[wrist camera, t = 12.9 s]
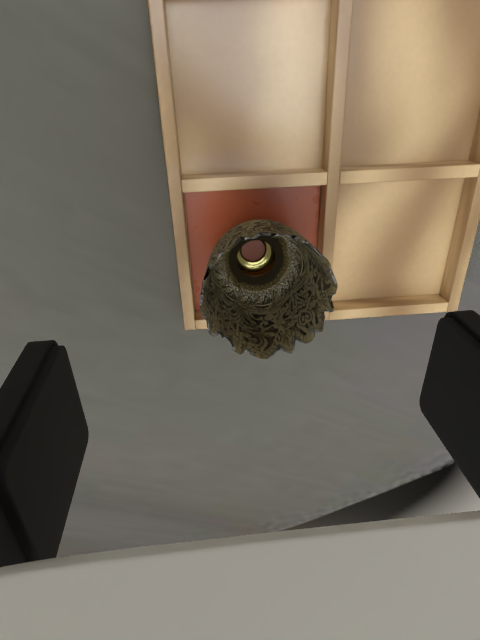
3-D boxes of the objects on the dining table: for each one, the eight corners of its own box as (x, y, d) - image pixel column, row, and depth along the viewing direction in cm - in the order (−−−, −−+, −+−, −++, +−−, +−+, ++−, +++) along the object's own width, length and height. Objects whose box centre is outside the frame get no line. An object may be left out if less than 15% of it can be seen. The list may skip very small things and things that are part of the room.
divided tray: (185, 316, 33) (184, 330, 31) (148, -18, 23) (144, -26, 21) (443, 298, 34) (457, 311, 32) (516, -27, 24) (542, -36, 22)
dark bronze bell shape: (327, 247, 30) (365, 297, 23) (253, 315, 33) (268, 380, 26) (252, 171, 27) (271, 203, 20) (177, 252, 30) (171, 306, 23)
